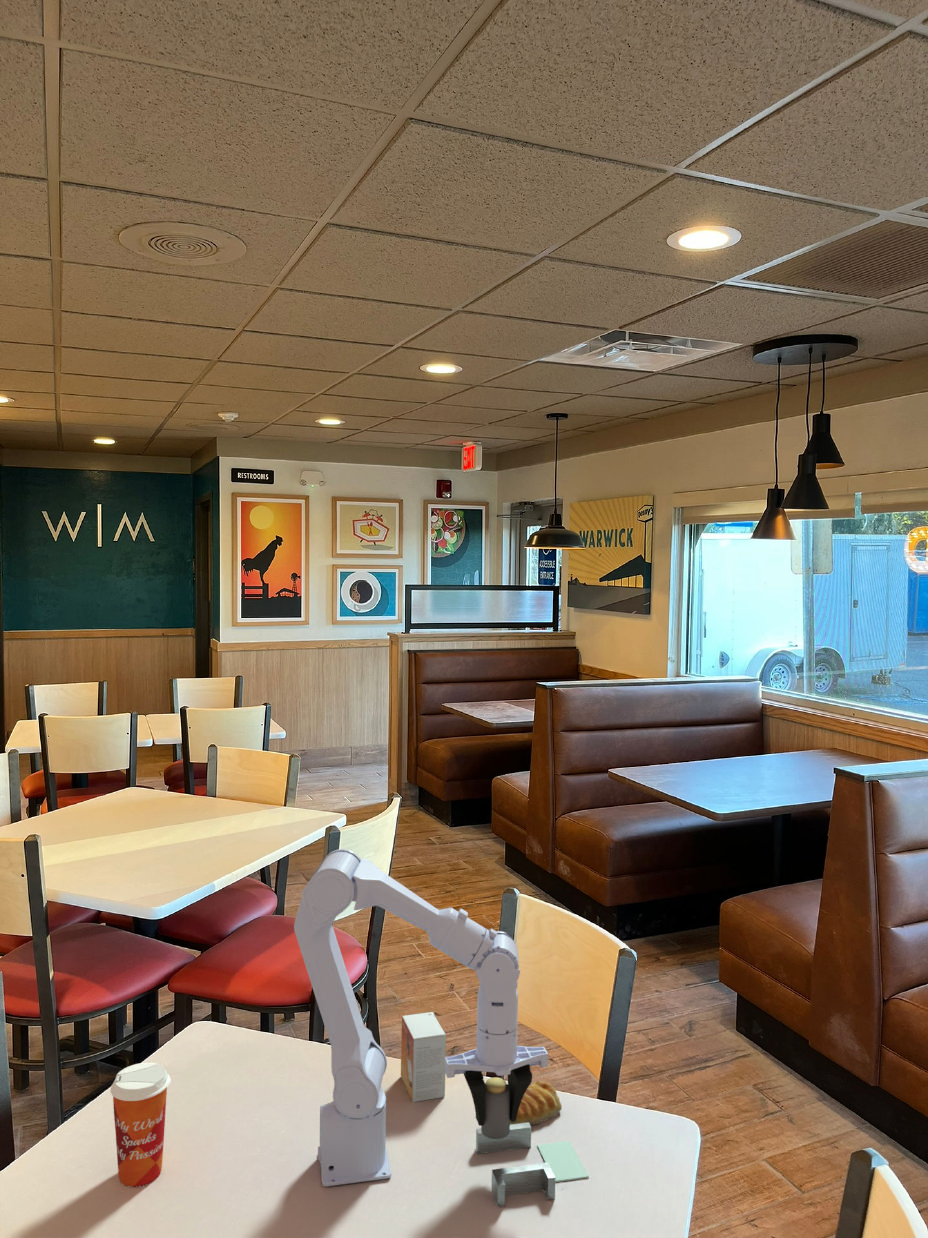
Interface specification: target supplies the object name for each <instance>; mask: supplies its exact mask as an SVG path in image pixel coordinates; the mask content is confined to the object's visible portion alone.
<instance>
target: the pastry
mask: <svg viewBox="0 0 928 1238" xmlns="http://www.w3.org/2000/svg"><path fill="white" fill-rule="evenodd" d="M562 1107H563V1106H562V1103H561V1101H560V1097H559V1096H558V1094H557V1091H556V1089H555V1087H554V1086H553V1085H552V1084H550V1083H549V1082H547V1081H541V1080H536V1082H533V1083H531V1084H530V1085H529V1087H528V1088H527V1090H526V1092H525V1094H524V1096H523V1098H522V1101H521V1103H520V1106H519V1110H518V1113H517V1118H516V1121H514V1122H511V1120H510V1125H511V1124H519V1123H528V1122H529V1124H530V1126H531V1125H539V1124H541V1123H543V1122H546V1121H547V1120H550V1119H551V1118H554V1117H555V1116H557V1115H558V1114H559V1113H560V1112H561V1111H562Z"/></svg>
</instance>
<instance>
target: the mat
mask: <svg viewBox="0 0 928 1238" xmlns="http://www.w3.org/2000/svg"><path fill="white" fill-rule="evenodd" d="M537 1149H538V1150H539V1153H540V1155H541V1157H542V1159H543V1161H544V1163H546V1162H548V1163H549V1165H550V1167H551V1169H552V1172H553V1174H554V1176H555V1183H558V1182H559V1183H560V1182H567V1181H573V1180H581V1179H588V1178H589V1174H588V1172H587V1171H586V1168H585V1167H584V1165H583V1163H582V1161H581V1159H580V1157H579V1155H578V1153H577V1152H576V1150H575V1148H574V1146H573V1144H572V1143H571V1140H566V1141H565V1140H564V1141H559V1142H558V1141H556V1142H550V1143H543V1144H537Z"/></svg>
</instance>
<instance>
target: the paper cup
mask: <svg viewBox="0 0 928 1238" xmlns="http://www.w3.org/2000/svg"><path fill="white" fill-rule="evenodd" d="M171 1080H172V1079H171V1076H170V1075H169V1073H168V1072H167V1071H166V1069H165V1067H164V1066H162V1065H161V1064H159V1063H156V1062H141V1063H135V1064H132V1065H129V1066H127V1067H124V1068H123V1069H122V1070H119V1071H118V1073H117V1074H116V1075H115V1079H114V1081H113V1083H112V1084H111V1086H110V1094H111V1095H112V1096H113V1097H112V1099H113V1100H112V1102H113V1117H114V1118H113V1120H114V1128H115V1142H116V1157H117V1159H116V1160H117V1171H118V1180H119V1182H120V1184H122V1185H123V1184H124V1185H123V1186H124V1187H127V1186H130V1187H129V1188H139V1186H140V1187H143V1185H144V1186H147V1185H149V1184H151V1183H153V1182H155V1181H156V1180H157V1179H158V1178H159V1176H160V1175H161V1173H162V1170H163V1169H162V1168H163V1155H164V1154H163V1153H164V1141H165V1126H166V1124H165V1122H166V1109H167V1108H166V1107H167V1095H168V1092H167V1089H168V1087H169V1085H170V1084H171ZM146 1184H147V1185H146ZM131 1186H132V1187H131ZM136 1186H137V1187H136Z"/></svg>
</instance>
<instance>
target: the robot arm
mask: <svg viewBox="0 0 928 1238" xmlns="http://www.w3.org/2000/svg"><path fill="white" fill-rule="evenodd" d="M352 902H355V903H354V908H353V910H354V911H360V910H363V909H368V908H371V907H380V908H381V909H384V910H385V911H387V912H389V913H391V914H392V915H394V916H396V917H398V918H400V919H402V920H404V921H405V922H407V923H409V924H411V925H413V926H415V927H417V928H419V929H420V930H423V931H424V932H425V933H427V937H428V940H429V944H430V946H432V947H434V948H435V949H437V950H439V952H440V951H441V952H442V953H443V954H445V955H447V956H449V958H451V959H453V960H455V961H457V962H458V963H460V964H461V965H463V966H464V967H466V968H468V969H470V970H473V971H475V973H476V977H477V980H478V981H479V984H478V985H479V986H478V990H477V992H476V993H477V994H476V995H477V996H476V1001H477V1002H476V1003H477V1004H476V1048H474V1049H472V1050H467V1051H465V1052H463V1053H458V1054H456V1055H451V1056H446V1057H445V1076H446V1078H447V1079H451V1078H455V1076H456V1075H462V1074H463V1076H464V1079H465V1082H466V1083H467V1086H468V1088H469V1090H470V1094H471V1098H472V1101H473V1102H472V1103H473V1106H474V1111H475V1119H476V1122H477V1124H478V1126H479V1127H481V1126H482V1125H484V1120H485V1117H484V1098H485V1090H486V1084H485V1083H486V1081H485V1080H484V1074H483V1072H485V1073H495V1075H496V1076H498V1077H499V1076H500V1077H501V1076H502V1077H503V1076H507V1084H508V1085H509V1087H510V1120H511V1122H514V1121H516V1118H517V1113H518V1110H519V1106H520V1103H521V1101H522V1098H523V1096H524V1094H525V1092H526V1090H527V1088H528V1087H529V1085H532V1081H533V1073H532V1071H531V1067H534V1066H535V1067H536V1066H539V1067H540V1068H548V1067H549V1053H548V1051H547V1049H546V1047H545V1046H523V1045H518V1025H519V1024H518V1021H519V1015H518V1014H519V992H518V980H519V977H520V973H521V970H520V969H519V968H520V966H519V965H520V964H519V963H520V961H519V950H518V947H517V944H516V942H515V940H514V939H513V938H512V937H510V936H509V934H508V933H507V932H506V931H502V930H497V931H496V930H494V929H493V928H490V929H488V928H485V927H484V926H483V925H482V924H481V925H480V923H478V922H476V921H474V920H472V919H471V918H470V917H468V916H469V913H468V911H466V910H464V909H463V908H459V910H456V909H455V908H453V907H448V908H442V909H441V908H440V909H438V908H437V907H435V906H434V905H432V904H431V903H429V902H428V901H426V900H425V899H423V898H422V897H420V896H419V895H417V893H415V892H413V891H411V890H410V889H409V888H407V887H405V886H404V885H403V884H402V883H400V882H399V881H397V880H395V879H394V878H393V877H392V876H390V875H388V874H387V873H386V872H384V871H382V870H381V868H379V867H378V866H377V865H375V864H374V862H372V861H371V860H369V859H366V858H363V857H362V858H360V857H359V855H358V854H356V853H355V852H354V851H352V850H349V849H345V848H341V849H340V848H339V849H335V850H333V851H331V852H330V853H328V854H327V855H326V856H325V857H324V858H323V860H322V861H321V863H320V864H319V866H318V867H317V868H316V870H315V871H314V873H313V875H312V877H311V878H310V880H309V881H308V882H307V884H306V885H305V887H303V890H302V891H301V899H300V903H299V905H298V909H297V912H296V917H295V920H294V923H293V930H294V934H295V937H296V940H297V945H298V948H299V949H300V953H301V955H302V959H303V963H304V965H305V969H306V972H307V974H308V977H309V981H310V984H311V988H312V990H313V993H314V996H315V1001H316V1003H317V1007H318V1009H319V1012H320V1016H321V1018H322V1021H323V1025H324V1029H325V1032H326V1034H327V1038H328V1041H329V1044H330V1048H331V1058H330V1059H331V1066H330V1068H331V1074H332V1077H333V1078H332V1079H333V1083H334V1085H333V1090H332V1091H333V1092H332V1101H331V1102H327V1103H325V1104H322V1105H320V1106H319V1107H320V1108H319V1145H318V1146H317V1160H318V1161H317V1162H319V1165H320V1172H321V1173H320V1176H321V1185H322V1186H323V1187H332V1186H339V1185H340V1186H341V1185H347V1184H355V1183H361V1182H371V1181H377V1180H386V1179H390V1178H392V1171H391V1165H390V1160H389V1156H388V1151H387V1146H386V1139H387V1138H386V1134H387V1133H386V1127H387V1125H386V1124H387V1120H386V1119H387V1118H386V1117H387V1097H386V1094H385V1092H384V1090H383V1088H382V1083H383V1078H384V1075H385V1072H386V1070H387V1067H388V1060H387V1055H386V1053H385V1052H384V1049H383V1048H382V1047H381V1046H380V1045H379V1044H378V1043H377V1042H376V1040H375V1039H374V1036H373V1033H372V1031H371V1030H370V1029H369V1028H367V1027H366V1026H365V1023H364V1021H363V1018H362V1015H361V1011H360V1009H359V1005H358V1003H357V999H356V996H355V993H354V992H355V991H354V990H353V986H352V983H351V980H350V977H349V973H348V970H347V968H346V964H345V961H344V958H343V955H342V952H341V951H342V950H341V949H340V945H339V942H338V938H337V936H336V932H335V930H334V926H333V923H334V921H335V920H336V917H338V916H339V915H340V914H342V913H343V912H345V910H346V909H347V908H348V907H349V906H350V905H351V903H352Z"/></svg>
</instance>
